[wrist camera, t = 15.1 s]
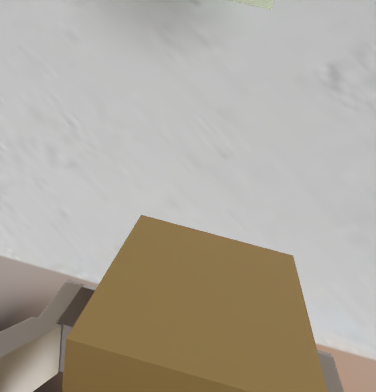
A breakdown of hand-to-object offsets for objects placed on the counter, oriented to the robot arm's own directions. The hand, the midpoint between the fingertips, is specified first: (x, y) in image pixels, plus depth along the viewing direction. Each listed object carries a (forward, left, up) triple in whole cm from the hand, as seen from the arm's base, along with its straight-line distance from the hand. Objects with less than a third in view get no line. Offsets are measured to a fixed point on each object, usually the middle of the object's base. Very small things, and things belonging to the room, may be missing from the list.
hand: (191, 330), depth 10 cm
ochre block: (0, 0, -2) cm, 2 cm away
